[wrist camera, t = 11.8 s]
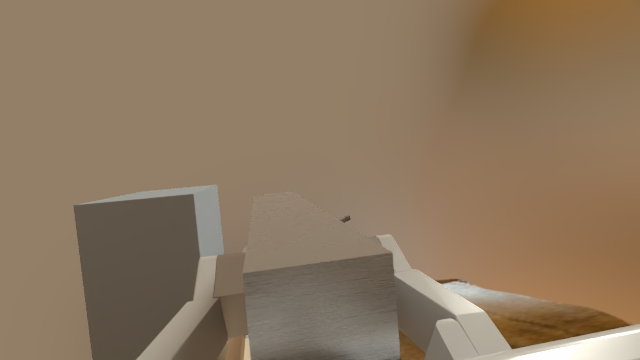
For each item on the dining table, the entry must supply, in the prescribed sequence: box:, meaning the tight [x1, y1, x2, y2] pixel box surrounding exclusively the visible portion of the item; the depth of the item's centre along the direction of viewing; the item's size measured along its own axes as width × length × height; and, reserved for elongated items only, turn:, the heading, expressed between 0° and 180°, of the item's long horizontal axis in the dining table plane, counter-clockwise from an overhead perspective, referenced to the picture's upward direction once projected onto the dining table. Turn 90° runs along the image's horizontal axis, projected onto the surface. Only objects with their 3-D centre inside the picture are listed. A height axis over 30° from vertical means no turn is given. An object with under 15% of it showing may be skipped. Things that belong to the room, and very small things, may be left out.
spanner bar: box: [243, 192, 401, 360], centre depth 16 cm, size 3×20×3 cm, turn 11°
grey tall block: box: [74, 185, 224, 360], centre depth 32 cm, size 8×14×26 cm, turn 10°
